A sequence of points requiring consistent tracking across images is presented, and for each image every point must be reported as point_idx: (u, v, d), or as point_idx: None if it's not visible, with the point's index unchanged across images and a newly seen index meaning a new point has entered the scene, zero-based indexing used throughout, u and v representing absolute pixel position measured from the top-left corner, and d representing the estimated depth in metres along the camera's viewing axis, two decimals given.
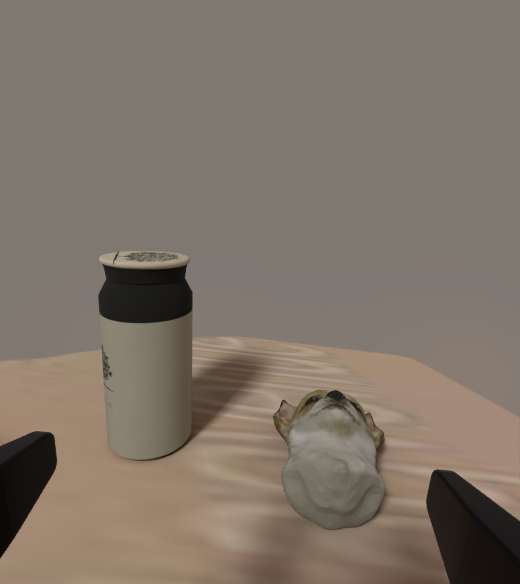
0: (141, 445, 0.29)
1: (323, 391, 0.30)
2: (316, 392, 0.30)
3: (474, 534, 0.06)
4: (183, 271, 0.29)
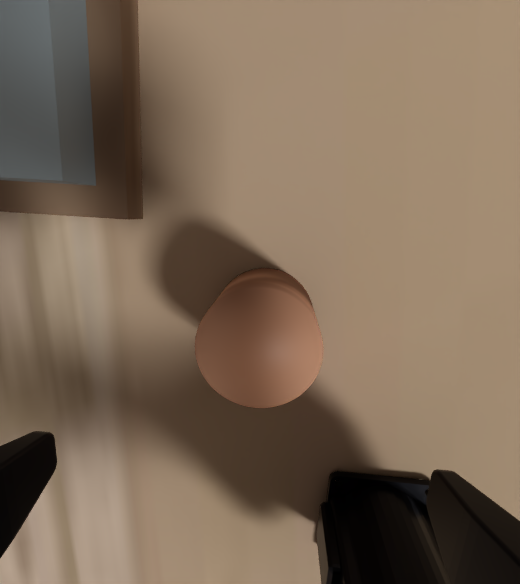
0: None
1: None
2: None
3: (474, 534, 0.06)
4: None
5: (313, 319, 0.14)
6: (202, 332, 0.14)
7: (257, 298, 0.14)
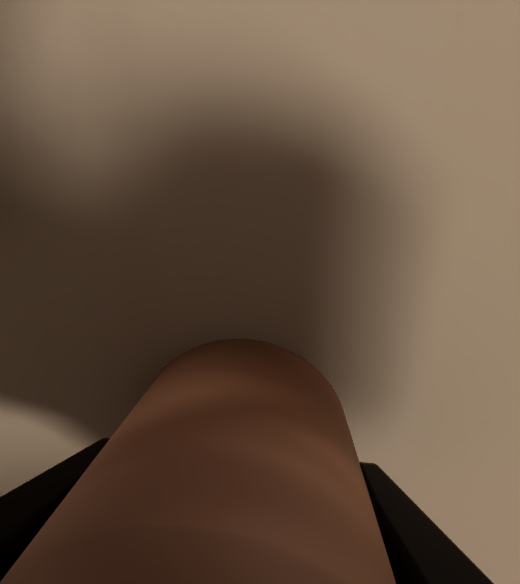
0: None
1: None
2: None
3: None
4: None
5: None
6: None
7: (178, 558, 0.03)
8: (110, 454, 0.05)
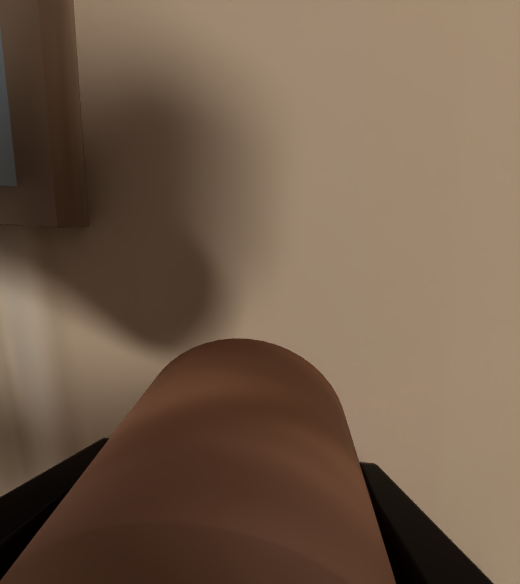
0: None
1: None
2: None
3: None
4: None
5: None
6: None
7: (178, 556, 0.03)
8: (111, 452, 0.05)
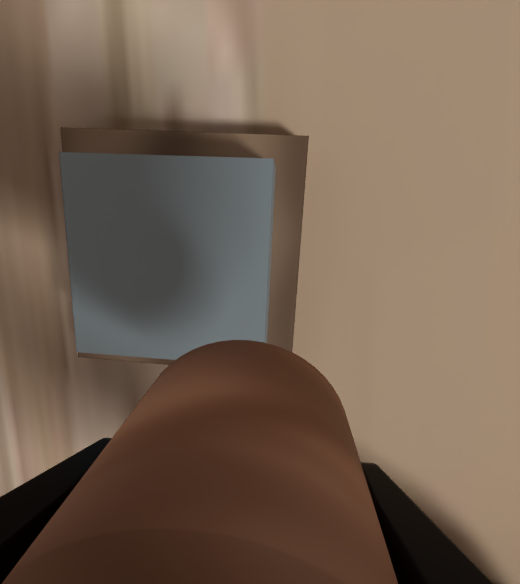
0: None
1: None
2: None
3: None
4: None
5: None
6: None
7: (179, 562, 0.03)
8: (111, 456, 0.05)
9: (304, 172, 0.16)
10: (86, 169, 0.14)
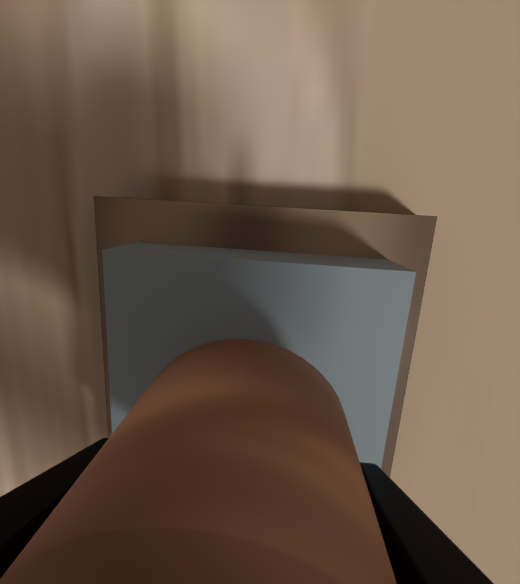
0: None
1: None
2: None
3: None
4: None
5: None
6: None
7: (176, 560, 0.03)
8: (108, 454, 0.05)
9: (426, 262, 0.12)
10: (141, 274, 0.10)
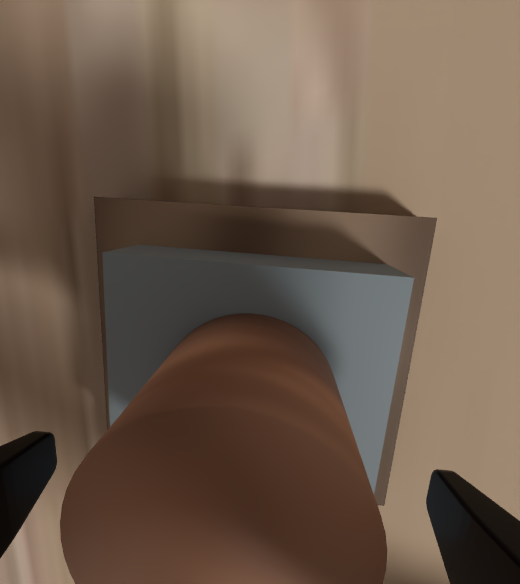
0: None
1: None
2: None
3: (474, 534, 0.06)
4: None
5: (361, 483, 0.05)
6: (75, 510, 0.06)
7: (210, 430, 0.05)
8: (151, 384, 0.07)
9: (426, 264, 0.12)
10: (141, 277, 0.10)
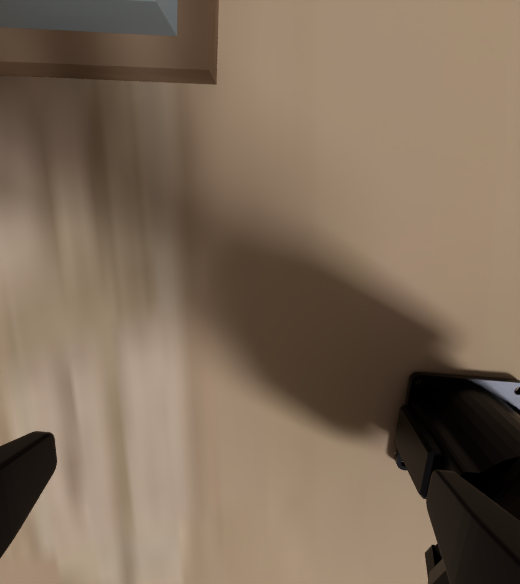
0: None
1: None
2: None
3: (474, 534, 0.06)
4: None
5: None
6: None
7: None
8: None
9: None
10: None
